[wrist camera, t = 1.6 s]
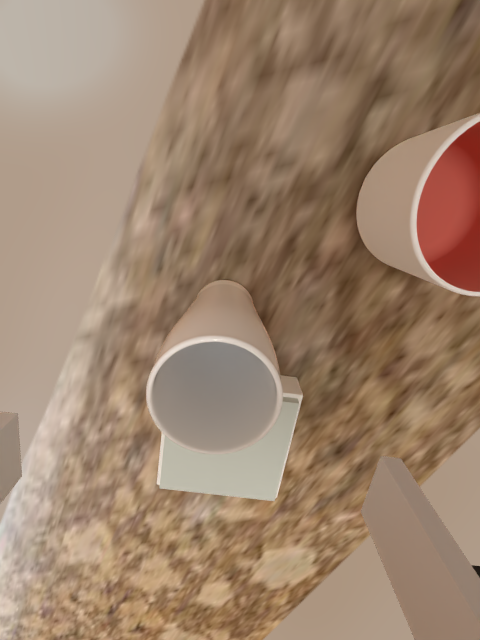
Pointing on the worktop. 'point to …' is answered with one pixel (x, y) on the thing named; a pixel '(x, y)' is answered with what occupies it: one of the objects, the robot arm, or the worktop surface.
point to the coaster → (235, 459)
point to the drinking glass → (216, 375)
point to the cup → (427, 207)
